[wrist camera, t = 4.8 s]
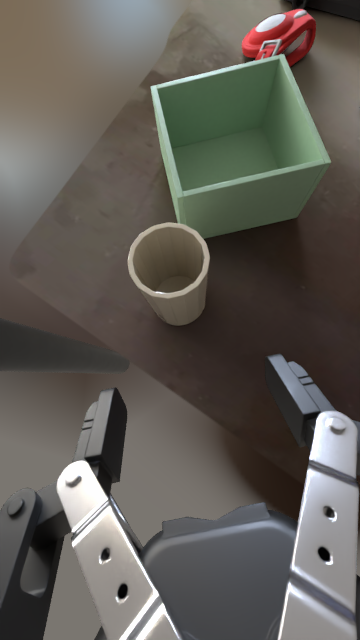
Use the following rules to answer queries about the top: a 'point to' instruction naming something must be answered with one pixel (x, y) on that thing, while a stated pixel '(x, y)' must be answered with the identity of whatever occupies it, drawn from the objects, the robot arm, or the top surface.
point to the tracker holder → (280, 36)
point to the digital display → (331, 6)
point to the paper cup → (171, 271)
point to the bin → (238, 146)
